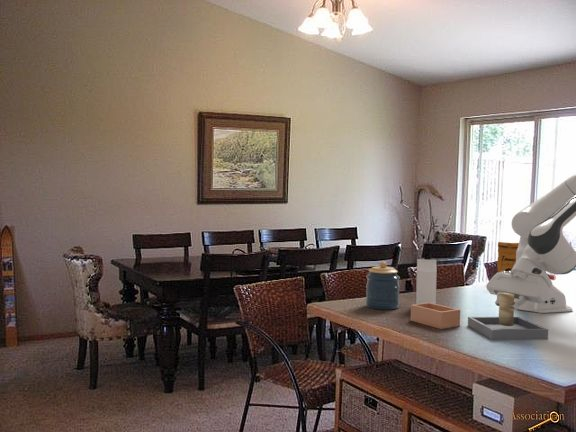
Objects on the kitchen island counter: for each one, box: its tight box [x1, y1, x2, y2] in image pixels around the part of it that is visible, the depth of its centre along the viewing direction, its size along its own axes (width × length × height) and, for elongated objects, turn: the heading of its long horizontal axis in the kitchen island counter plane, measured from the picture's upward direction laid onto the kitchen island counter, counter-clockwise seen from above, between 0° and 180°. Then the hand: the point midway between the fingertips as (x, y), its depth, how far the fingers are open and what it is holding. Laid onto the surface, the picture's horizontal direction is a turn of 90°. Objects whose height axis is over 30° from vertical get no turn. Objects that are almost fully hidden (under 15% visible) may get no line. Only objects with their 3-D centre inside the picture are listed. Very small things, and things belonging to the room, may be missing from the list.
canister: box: [365, 261, 401, 311], centre depth 220 cm, size 13×13×18 cm
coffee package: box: [496, 241, 519, 273], centre depth 268 cm, size 10×12×22 cm
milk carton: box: [415, 258, 438, 304], centre depth 217 cm, size 7×7×19 cm
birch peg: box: [498, 292, 515, 326], centre depth 182 cm, size 4×4×10 cm
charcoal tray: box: [467, 316, 549, 341], centre depth 182 cm, size 18×18×3 cm
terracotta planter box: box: [410, 303, 461, 330], centre depth 193 cm, size 9×14×6 cm, turn 32°
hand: (505, 306), depth 182 cm, fingers closed on birch peg, 4 cm apart
